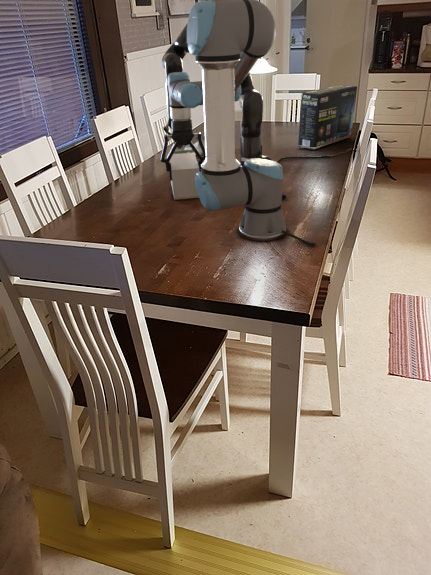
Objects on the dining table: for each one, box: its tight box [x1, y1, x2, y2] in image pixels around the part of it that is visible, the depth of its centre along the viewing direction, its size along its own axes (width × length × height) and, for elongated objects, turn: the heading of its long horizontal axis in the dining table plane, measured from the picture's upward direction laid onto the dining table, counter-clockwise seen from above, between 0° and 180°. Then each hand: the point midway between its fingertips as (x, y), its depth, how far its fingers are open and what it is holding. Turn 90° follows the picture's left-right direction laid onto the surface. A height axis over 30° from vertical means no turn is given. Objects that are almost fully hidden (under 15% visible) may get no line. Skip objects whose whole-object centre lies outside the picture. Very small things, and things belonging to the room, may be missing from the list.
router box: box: [297, 84, 358, 151], centre depth 238 cm, size 36×11×27 cm, turn 134°
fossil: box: [184, 137, 206, 156], centre depth 236 cm, size 18×11×15 cm
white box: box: [169, 153, 200, 201], centre depth 184 cm, size 20×10×12 cm, turn 8°
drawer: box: [168, 149, 191, 154], centre depth 194 cm, size 24×9×10 cm, turn 8°
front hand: (185, 178), depth 178 cm, fingers closed on white box, 10 cm apart
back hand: (179, 148), depth 199 cm, fingers closed
